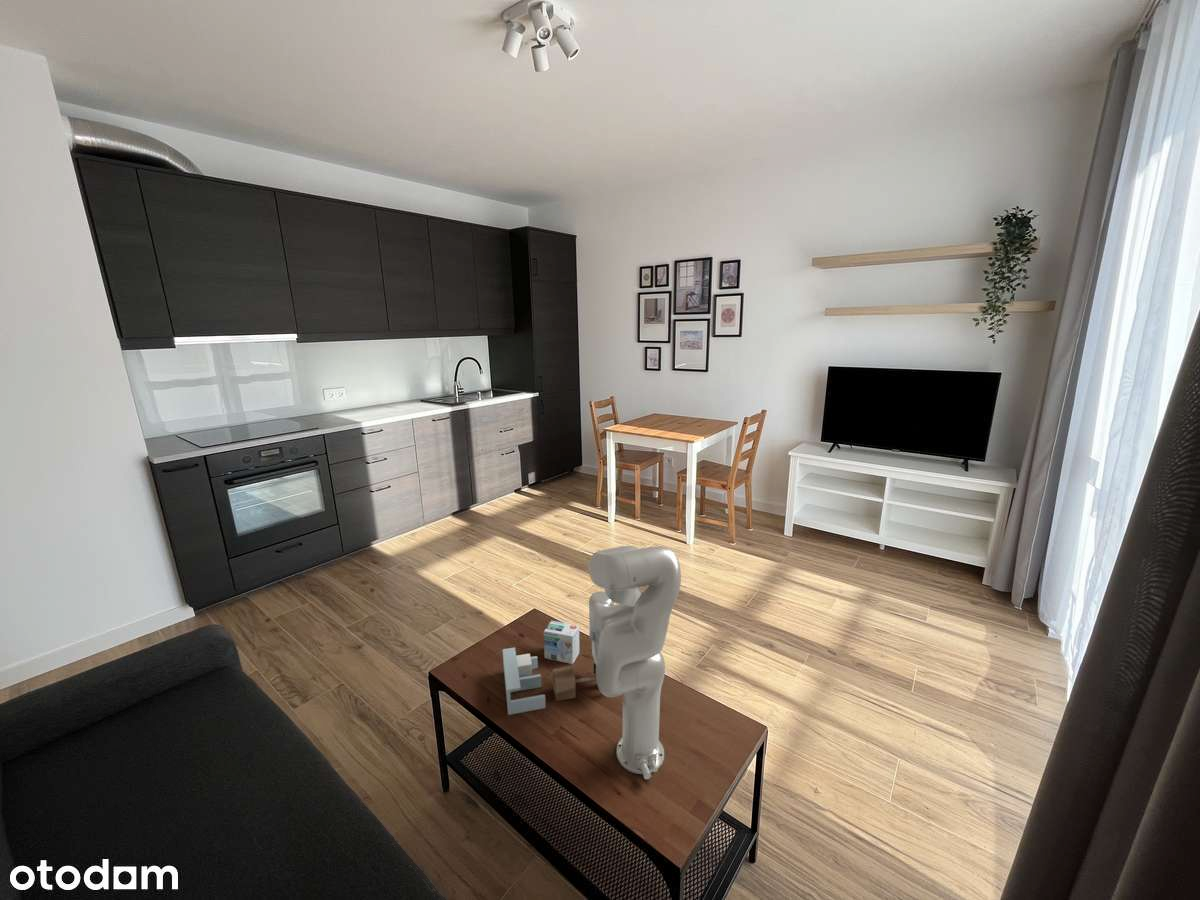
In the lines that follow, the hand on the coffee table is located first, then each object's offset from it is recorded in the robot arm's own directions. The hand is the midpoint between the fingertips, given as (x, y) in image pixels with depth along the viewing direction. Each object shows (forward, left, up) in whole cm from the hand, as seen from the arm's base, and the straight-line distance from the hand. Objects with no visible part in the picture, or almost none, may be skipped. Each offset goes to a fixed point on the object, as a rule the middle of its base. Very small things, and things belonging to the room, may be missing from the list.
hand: (601, 681), depth 156 cm
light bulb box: (+18, +10, -2) cm, 20 cm away
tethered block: (0, +7, -2) cm, 7 cm away
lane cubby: (+5, +24, -2) cm, 24 cm away
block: (+10, +24, -2) cm, 26 cm away
